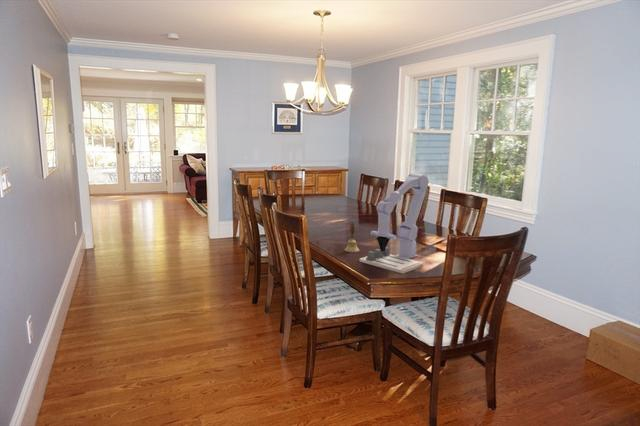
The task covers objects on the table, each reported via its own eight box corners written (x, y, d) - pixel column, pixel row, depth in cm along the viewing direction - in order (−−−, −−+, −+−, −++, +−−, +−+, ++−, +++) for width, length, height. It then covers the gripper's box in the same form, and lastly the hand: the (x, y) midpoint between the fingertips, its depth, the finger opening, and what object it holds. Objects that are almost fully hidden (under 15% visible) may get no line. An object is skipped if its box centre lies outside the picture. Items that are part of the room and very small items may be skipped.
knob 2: (384, 253, 235) (385, 246, 234) (390, 254, 232) (390, 247, 232) (380, 254, 232) (380, 247, 231) (385, 256, 230) (386, 249, 229)
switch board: (380, 254, 238) (380, 251, 238) (423, 265, 220) (423, 262, 220) (359, 261, 225) (359, 258, 225) (402, 273, 208) (402, 270, 207)
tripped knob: (377, 255, 231) (378, 248, 230) (383, 256, 228) (383, 249, 228) (373, 256, 228) (373, 249, 227) (378, 258, 225) (379, 251, 225)
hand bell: (343, 252, 242) (344, 223, 239) (345, 248, 250) (346, 220, 247) (358, 252, 241) (359, 224, 238) (359, 248, 249) (360, 221, 246)
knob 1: (370, 257, 226) (371, 250, 226) (376, 259, 224) (376, 251, 223) (365, 259, 224) (366, 251, 223) (371, 260, 221) (371, 253, 220)
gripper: (367, 223, 225) (366, 249, 228) (391, 228, 215) (389, 255, 218) (375, 221, 230) (374, 247, 233) (399, 226, 220) (398, 252, 223)
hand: (382, 251), depth 226 cm, fingers closed
